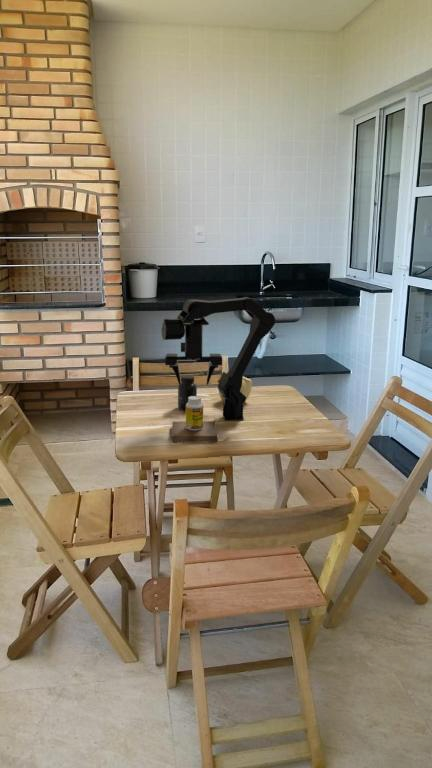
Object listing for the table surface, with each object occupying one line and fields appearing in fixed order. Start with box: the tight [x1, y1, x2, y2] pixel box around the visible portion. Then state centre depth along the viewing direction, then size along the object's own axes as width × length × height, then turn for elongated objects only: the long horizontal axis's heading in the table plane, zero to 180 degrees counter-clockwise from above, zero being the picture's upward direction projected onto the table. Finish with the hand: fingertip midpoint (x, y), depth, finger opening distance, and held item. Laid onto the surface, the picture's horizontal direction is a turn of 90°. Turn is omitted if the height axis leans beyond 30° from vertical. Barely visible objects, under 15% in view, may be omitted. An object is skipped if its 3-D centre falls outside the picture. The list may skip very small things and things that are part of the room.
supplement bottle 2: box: [185, 395, 204, 431], centre depth 186 cm, size 6×6×10 cm
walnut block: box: [171, 420, 218, 443], centre depth 187 cm, size 14×14×2 cm
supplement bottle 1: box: [177, 374, 198, 412], centre depth 213 cm, size 7×7×12 cm
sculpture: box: [218, 376, 253, 403], centre depth 222 cm, size 12×12×11 cm
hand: (193, 384), depth 197 cm, fingers open, 9 cm apart
